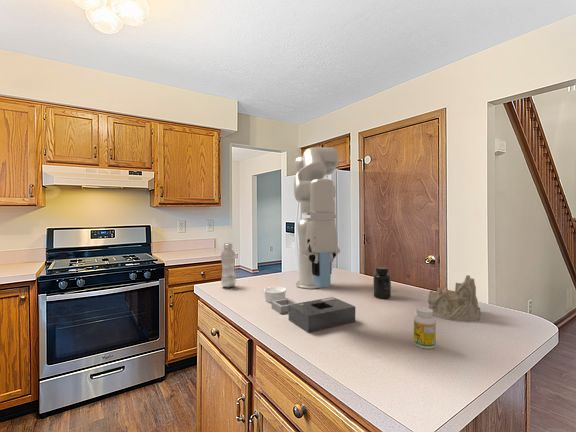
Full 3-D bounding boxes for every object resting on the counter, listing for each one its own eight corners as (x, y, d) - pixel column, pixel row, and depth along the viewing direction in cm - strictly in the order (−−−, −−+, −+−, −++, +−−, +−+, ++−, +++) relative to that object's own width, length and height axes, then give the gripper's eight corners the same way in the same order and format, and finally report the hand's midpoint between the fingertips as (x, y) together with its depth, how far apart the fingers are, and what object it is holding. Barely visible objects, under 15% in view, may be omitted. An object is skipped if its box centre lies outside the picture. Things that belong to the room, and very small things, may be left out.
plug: (323, 283, 105) (323, 246, 104) (330, 286, 101) (330, 248, 101) (313, 284, 103) (313, 247, 102) (320, 287, 99) (320, 248, 99)
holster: (288, 304, 119) (288, 298, 119) (298, 310, 113) (298, 303, 113) (271, 307, 116) (271, 301, 116) (280, 313, 109) (280, 306, 109)
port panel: (332, 310, 112) (332, 296, 112) (355, 321, 102) (355, 305, 101) (288, 319, 103) (288, 303, 103) (308, 332, 93) (308, 315, 93)
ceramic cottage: (486, 312, 110) (483, 269, 110) (473, 327, 98) (470, 279, 98) (439, 305, 121) (436, 266, 121) (422, 318, 109) (419, 275, 109)
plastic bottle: (234, 288, 142) (234, 244, 141) (219, 288, 142) (219, 244, 142) (237, 285, 148) (236, 243, 148) (222, 285, 149) (222, 243, 148)
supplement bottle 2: (439, 349, 82) (439, 313, 82) (418, 349, 82) (418, 313, 82) (429, 340, 87) (430, 306, 87) (410, 340, 88) (411, 306, 87)
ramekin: (283, 304, 120) (283, 293, 120) (261, 302, 122) (261, 291, 122) (288, 297, 129) (288, 287, 129) (267, 296, 131) (267, 286, 131)
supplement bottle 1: (388, 294, 132) (389, 266, 132) (392, 299, 125) (392, 269, 125) (372, 294, 133) (372, 266, 132) (374, 299, 126) (375, 269, 126)
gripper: (335, 217, 109) (335, 270, 109) (293, 217, 101) (293, 275, 101) (349, 217, 102) (349, 273, 102) (306, 218, 94) (306, 279, 94)
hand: (321, 273), depth 102 cm, fingers closed on plug, 4 cm apart
